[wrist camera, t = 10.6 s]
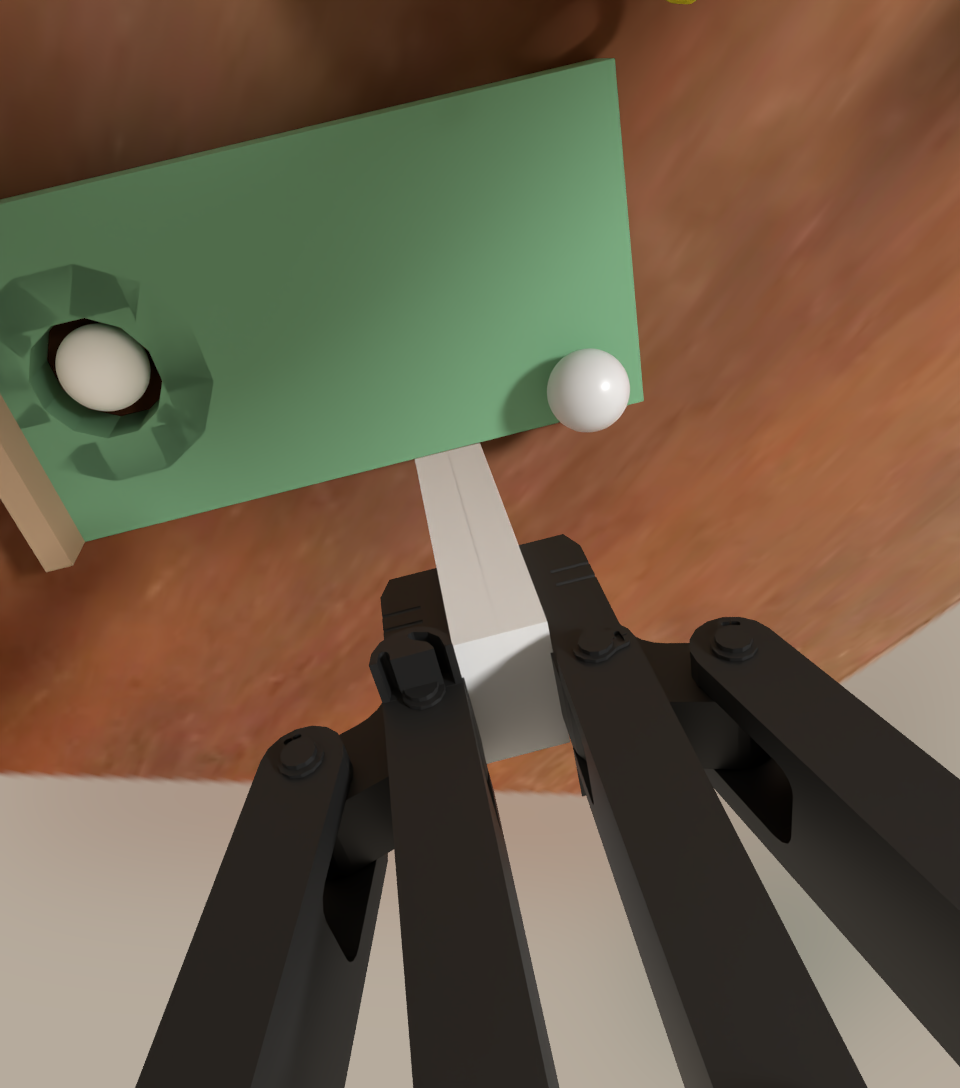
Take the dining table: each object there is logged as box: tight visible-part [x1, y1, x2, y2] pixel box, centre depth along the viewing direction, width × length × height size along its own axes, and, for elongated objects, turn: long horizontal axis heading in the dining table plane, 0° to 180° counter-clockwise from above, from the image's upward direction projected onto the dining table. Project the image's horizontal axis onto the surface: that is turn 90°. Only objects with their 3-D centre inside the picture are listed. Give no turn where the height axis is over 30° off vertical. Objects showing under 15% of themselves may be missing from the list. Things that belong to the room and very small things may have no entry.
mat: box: [0, 58, 644, 572], centre depth 33 cm, size 14×28×4 cm, turn 101°
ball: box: [55, 323, 151, 411], centre depth 33 cm, size 4×4×4 cm
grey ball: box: [547, 348, 630, 432], centre depth 34 cm, size 4×4×4 cm
